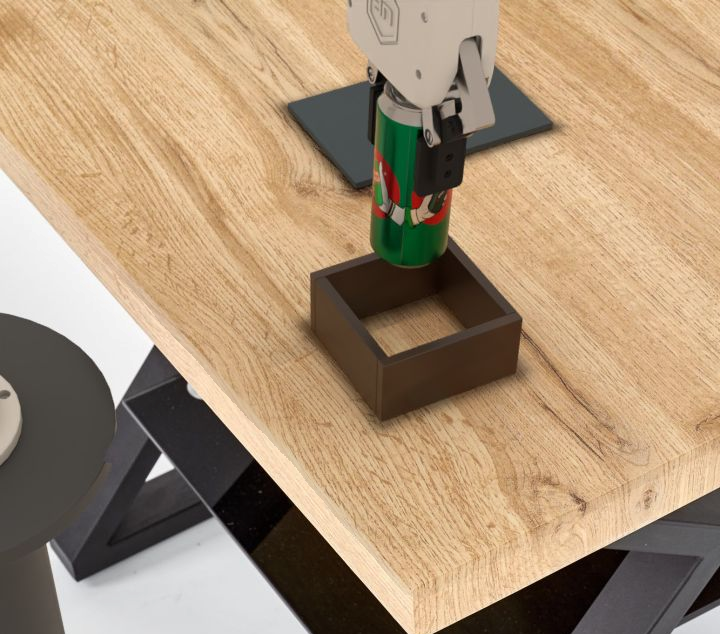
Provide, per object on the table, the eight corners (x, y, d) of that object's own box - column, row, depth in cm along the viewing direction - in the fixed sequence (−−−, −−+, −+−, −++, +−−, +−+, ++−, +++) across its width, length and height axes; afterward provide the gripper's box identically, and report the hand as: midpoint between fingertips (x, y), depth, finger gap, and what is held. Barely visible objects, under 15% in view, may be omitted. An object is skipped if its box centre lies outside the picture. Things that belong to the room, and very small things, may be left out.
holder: (381, 422, 105) (383, 367, 101) (310, 327, 111) (309, 272, 108) (516, 373, 109) (523, 317, 105) (440, 283, 115) (444, 228, 111)
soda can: (452, 231, 104) (469, 72, 95) (438, 279, 101) (453, 119, 92) (378, 219, 105) (387, 59, 96) (361, 266, 102) (369, 105, 93)
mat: (355, 189, 122) (355, 183, 121) (287, 109, 129) (287, 103, 128) (552, 128, 127) (553, 122, 127) (477, 54, 134) (477, 48, 134)
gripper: (301, -175, 88) (299, 106, 102) (454, -30, 78) (429, 259, 92) (418, -199, 90) (400, 79, 104) (580, -62, 81) (537, 225, 94)
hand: (414, 161), depth 98 cm, fingers closed on soda can, 5 cm apart
